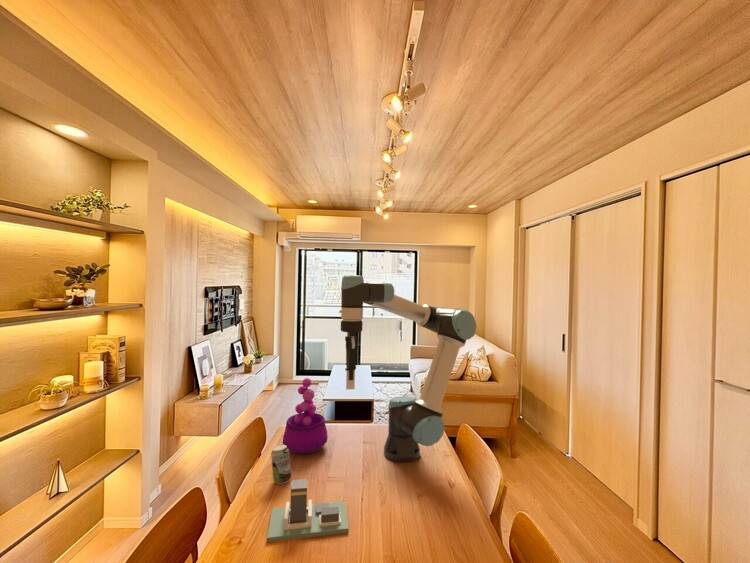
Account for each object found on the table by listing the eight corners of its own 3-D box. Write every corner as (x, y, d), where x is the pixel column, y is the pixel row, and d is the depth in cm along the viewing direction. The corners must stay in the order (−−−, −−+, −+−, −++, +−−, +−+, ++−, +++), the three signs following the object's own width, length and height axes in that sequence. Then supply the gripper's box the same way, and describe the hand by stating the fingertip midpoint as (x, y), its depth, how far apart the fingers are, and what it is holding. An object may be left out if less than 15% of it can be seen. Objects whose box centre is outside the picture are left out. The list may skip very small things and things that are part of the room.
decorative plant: (336, 449, 140) (337, 378, 141) (298, 465, 127) (300, 387, 128) (310, 435, 154) (312, 370, 155) (274, 448, 141) (276, 377, 141)
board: (344, 505, 104) (344, 491, 104) (348, 532, 92) (348, 517, 92) (272, 512, 100) (272, 498, 100) (266, 542, 88) (267, 526, 88)
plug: (306, 512, 98) (307, 478, 99) (306, 523, 94) (307, 487, 94) (290, 514, 98) (291, 480, 98) (289, 525, 93) (290, 489, 93)
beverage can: (286, 487, 113) (287, 452, 113) (266, 484, 114) (267, 450, 114) (294, 477, 119) (295, 444, 119) (275, 475, 120) (276, 441, 121)
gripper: (339, 318, 119) (337, 383, 119) (342, 321, 106) (341, 395, 106) (359, 318, 121) (358, 383, 120) (365, 321, 108) (364, 394, 107)
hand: (350, 388), depth 113 cm, fingers closed
